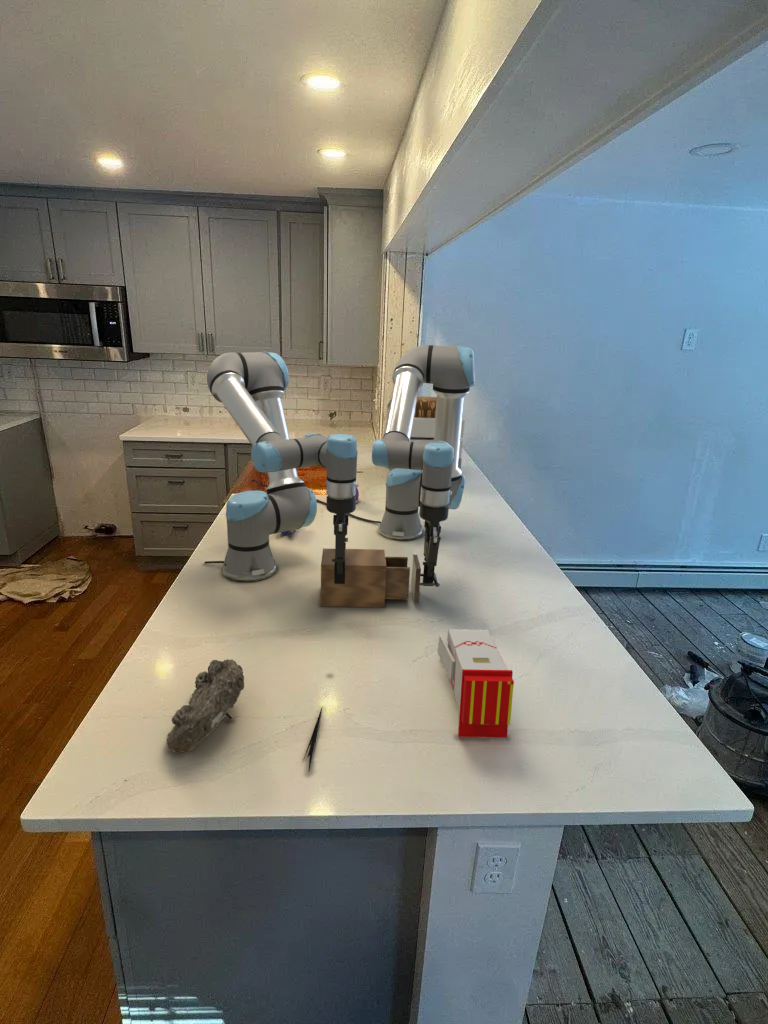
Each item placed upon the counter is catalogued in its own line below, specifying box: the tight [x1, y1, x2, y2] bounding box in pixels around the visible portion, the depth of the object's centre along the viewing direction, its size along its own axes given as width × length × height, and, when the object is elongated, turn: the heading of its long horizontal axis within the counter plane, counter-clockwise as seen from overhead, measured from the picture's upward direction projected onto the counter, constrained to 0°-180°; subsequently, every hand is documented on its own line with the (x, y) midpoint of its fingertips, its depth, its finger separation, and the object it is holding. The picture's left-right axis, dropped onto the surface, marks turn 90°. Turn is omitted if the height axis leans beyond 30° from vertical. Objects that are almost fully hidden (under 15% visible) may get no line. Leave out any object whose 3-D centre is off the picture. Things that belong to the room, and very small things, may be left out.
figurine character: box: [280, 529, 296, 538], centre depth 196 cm, size 7×8×15 cm
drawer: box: [385, 554, 441, 604], centre depth 154 cm, size 21×9×10 cm, turn 93°
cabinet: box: [320, 548, 386, 608], centre depth 153 cm, size 17×10×12 cm, turn 93°
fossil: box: [166, 658, 245, 754], centre depth 106 cm, size 22×10×15 cm
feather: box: [301, 673, 332, 771], centre depth 108 cm, size 2×28×2 cm
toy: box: [437, 628, 515, 738], centre depth 117 cm, size 12×13×30 cm
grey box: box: [385, 395, 465, 472], centre depth 268 cm, size 34×33×41 cm
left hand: (340, 573), depth 152 cm, fingers closed on cabinet, 10 cm apart
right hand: (427, 584), depth 155 cm, fingers closed
